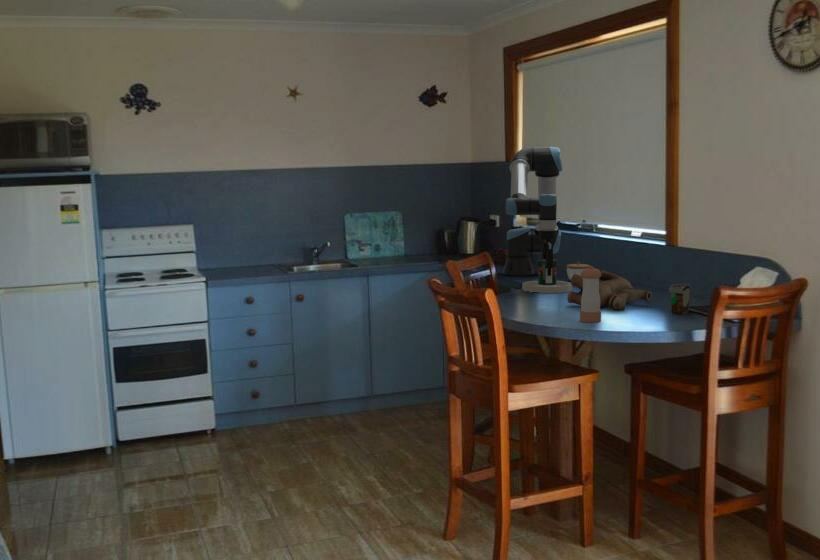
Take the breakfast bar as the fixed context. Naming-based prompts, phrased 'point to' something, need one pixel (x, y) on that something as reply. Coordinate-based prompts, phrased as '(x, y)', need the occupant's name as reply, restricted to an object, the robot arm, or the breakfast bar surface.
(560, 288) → the round tray
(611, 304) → the stuffed animal
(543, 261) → the canned tomato
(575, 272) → the lidded jar
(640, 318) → the breakfast bar surface
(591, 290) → the pepper shaker
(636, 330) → the breakfast bar surface
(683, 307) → the food container
